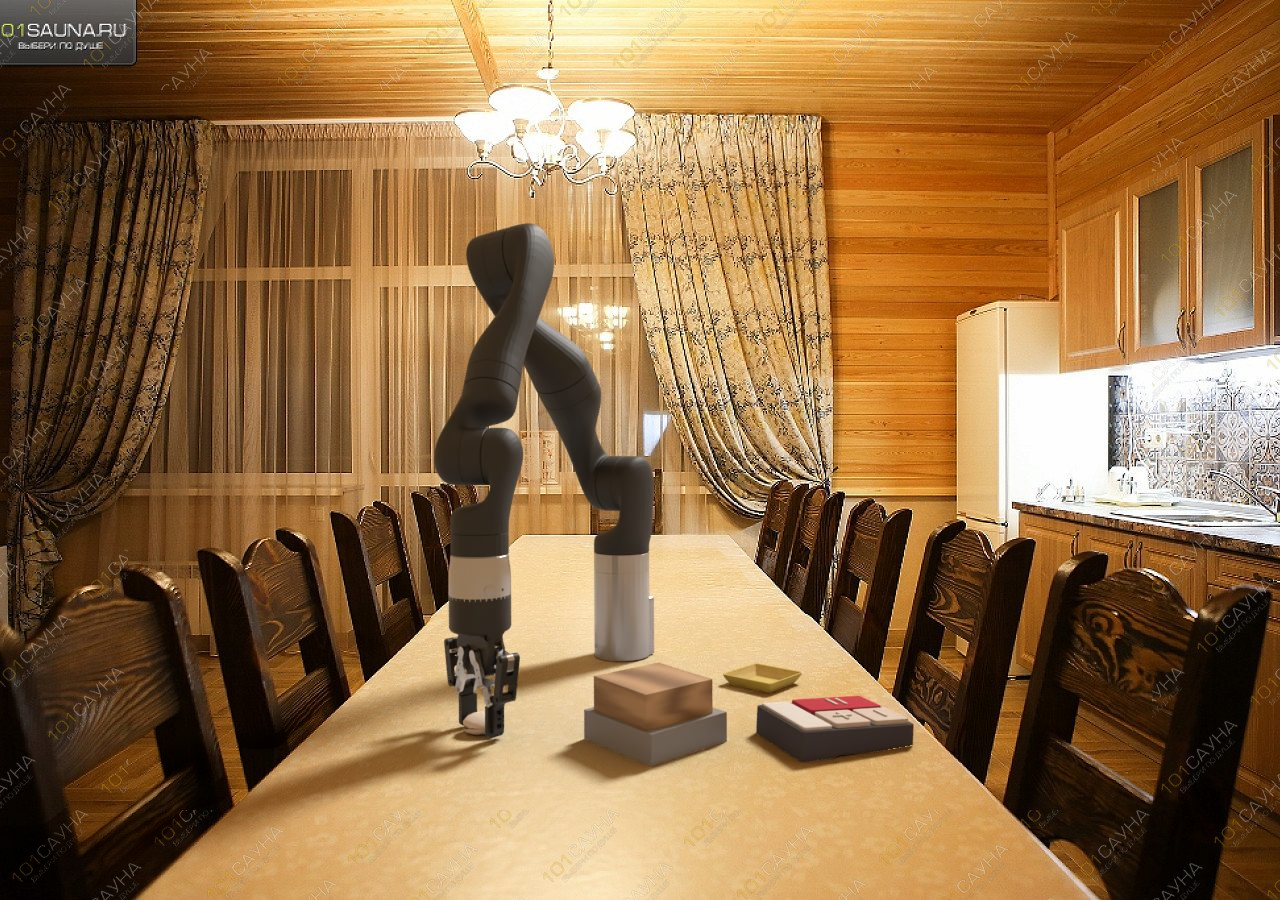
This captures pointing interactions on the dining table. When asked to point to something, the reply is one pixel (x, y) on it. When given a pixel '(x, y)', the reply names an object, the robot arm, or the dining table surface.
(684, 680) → the tower top block
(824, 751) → the calculator
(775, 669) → the yellow shallow square tray
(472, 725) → the pistachio nut
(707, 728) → the tower base block
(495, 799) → the dining table surface
